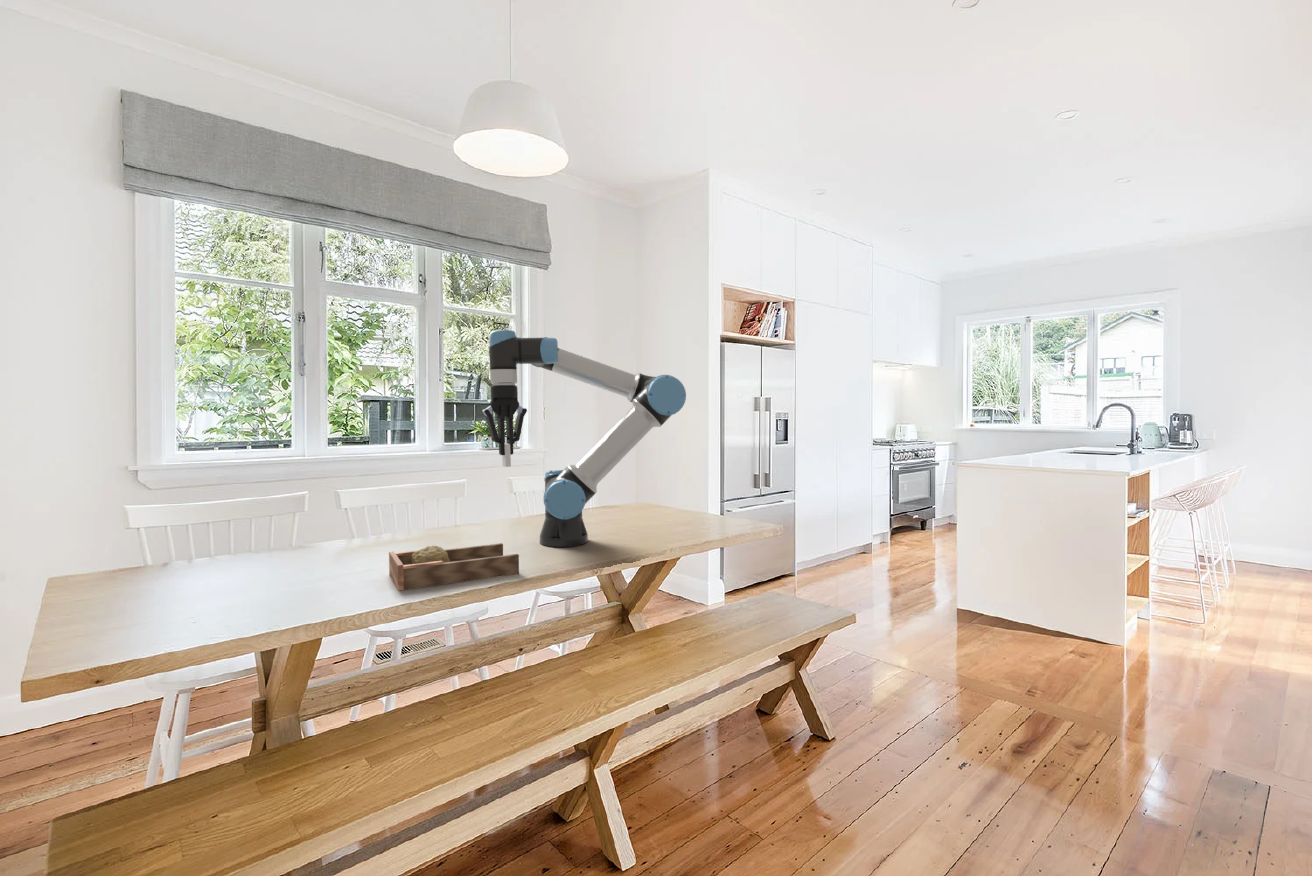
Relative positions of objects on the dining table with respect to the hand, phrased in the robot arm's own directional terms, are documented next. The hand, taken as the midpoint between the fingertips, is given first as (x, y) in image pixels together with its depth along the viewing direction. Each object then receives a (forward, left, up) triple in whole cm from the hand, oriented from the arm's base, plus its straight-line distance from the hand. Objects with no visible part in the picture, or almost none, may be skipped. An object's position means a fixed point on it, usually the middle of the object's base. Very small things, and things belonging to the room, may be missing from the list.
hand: (506, 466), depth 180 cm
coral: (+24, +14, -26) cm, 38 cm away
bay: (+18, +15, -26) cm, 35 cm away
